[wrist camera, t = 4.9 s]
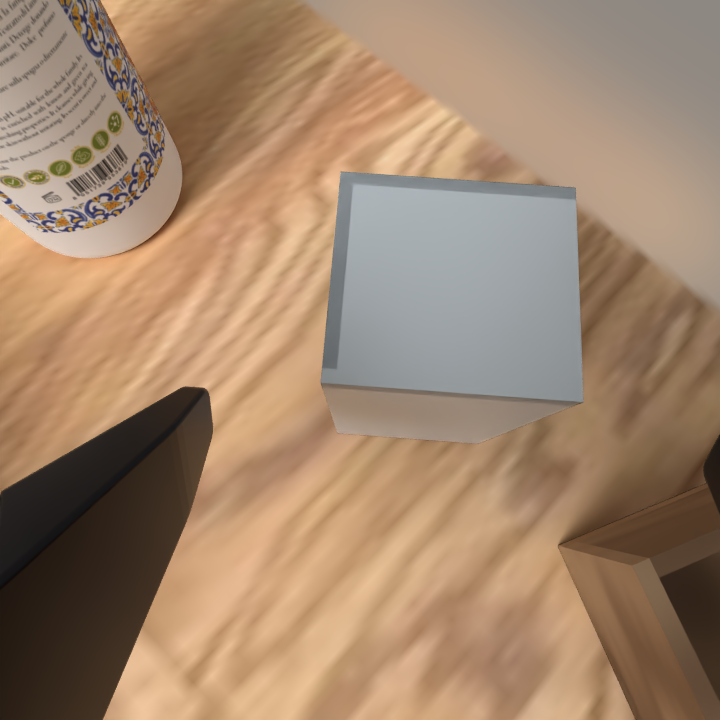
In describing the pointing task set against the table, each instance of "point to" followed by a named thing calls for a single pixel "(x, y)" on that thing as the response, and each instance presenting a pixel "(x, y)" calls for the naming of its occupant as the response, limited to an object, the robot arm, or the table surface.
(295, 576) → the table surface
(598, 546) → the box
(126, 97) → the bath foam
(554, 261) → the pale grey square pillar
